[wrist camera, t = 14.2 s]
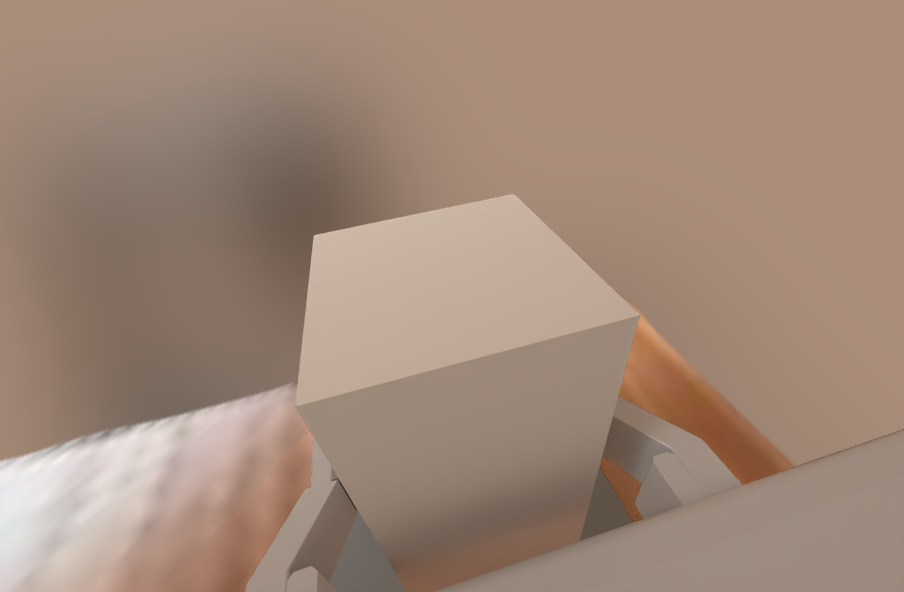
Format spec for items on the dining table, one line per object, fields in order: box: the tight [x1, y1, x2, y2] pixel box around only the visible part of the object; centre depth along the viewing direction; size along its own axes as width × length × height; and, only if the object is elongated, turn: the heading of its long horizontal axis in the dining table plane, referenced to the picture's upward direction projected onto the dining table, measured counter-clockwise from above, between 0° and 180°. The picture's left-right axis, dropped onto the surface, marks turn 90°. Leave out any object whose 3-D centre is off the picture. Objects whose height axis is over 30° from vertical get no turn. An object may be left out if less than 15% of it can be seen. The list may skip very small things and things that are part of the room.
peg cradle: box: [329, 466, 633, 592], centre depth 19 cm, size 18×18×5 cm
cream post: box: [295, 194, 640, 592], centre depth 11 cm, size 5×5×13 cm
